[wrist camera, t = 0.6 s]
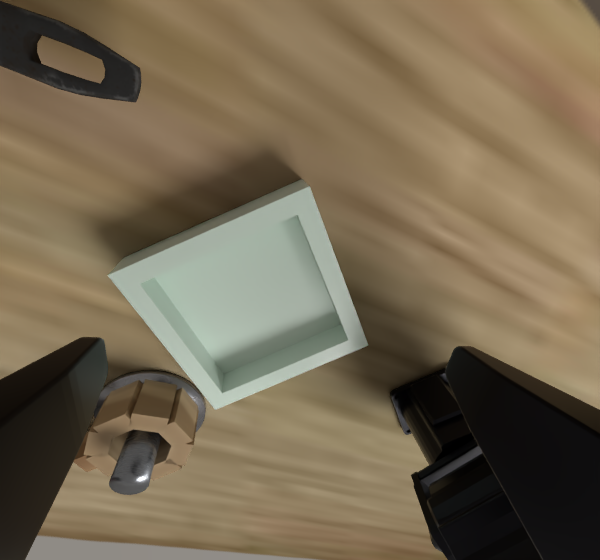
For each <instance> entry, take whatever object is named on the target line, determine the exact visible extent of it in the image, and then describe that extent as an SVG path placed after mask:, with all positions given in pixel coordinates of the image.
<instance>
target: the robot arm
mask: <svg viewBox="0 0 600 560" xmlns="http://www.w3.org/2000/svg"><path fill="white" fill-rule="evenodd" d="M107 373H108V362H107V356H106V349H105V343H104V340H103V339H102V338H99V337H82V338H79V339H77V340H75V341H73V342H71V343H69V344H68V345H66V346H64V347H62V348H60V349H58V350H56V351H54V352H52V353H50V354H48V355H47V356H45V357H43V358H41V359H39V360H37V361H35V362H33V363H31V364H29V365H27V366H26V367H24V368H22V369H20V370H18V371H16V372H14V373H12V374H10V375H8V376H6V377H4V378H3V379H1V380H0V560H25V559H26V557H27V555H28V552H29V550H30V548H31V546H32V544H33V542H34V540H35V538H36V536H37V534H38V532H39V530H40V528H41V526H42V524H43V522H44V520H45V518H46V516H47V514H48V512H49V510H50V508H51V506H52V504H53V502H54V500H55V498H56V496H57V494H58V492H59V490H60V488H61V486H62V484H63V482H64V480H65V478H66V476H67V473H68V471H69V469H70V467H71V465H72V463H73V461H74V459H75V457H76V455H77V453H78V451H79V449H80V447H81V445H82V442H83V440H84V437H85V435H86V432H87V430H88V427H89V424H90V422H91V419H92V416H93V413H94V410H95V408H96V405H97V402H98V399H99V397H100V394H101V391H102V388H103V386H104V383H105V380H106V377H107ZM390 396H391V399H392V402H393V405H394V408H395V410H396V413H397V416H398V419H399V421H400V424H401V427H402V430H403V432H404V433H405V434H406V435H408V434H411V433H412V434H413V436H414V438H415V440H416V442H417V443H418V445H419V447H420V449H421V451H422V453H423V454H424V456H425V458H426V460H427V462H428V464H429V466H427V467H426V468H424V469H422V470H421V471H419V472H415V473H413V474H412V475H411V477H412V479H413V482H414V489H415V491H416V494H417V497H418V500H419V503H420V506H421V508H422V511H423V514H424V517H425V520H426V522H427V525H428V529H429V533H430V538H431V541H432V544H433V545H434V547H435V548H436V549H438V550H439V551H441V552H443V553H444V555H445V556H446V558H447V559H448V560H600V410H599V409H597V408H595V407H593V406H591V405H589V404H587V403H585V402H583V401H581V400H579V399H577V398H575V397H573V396H571V395H569V394H567V393H565V392H563V391H561V390H559V389H557V388H555V387H553V386H551V385H549V384H547V383H545V382H542V381H540V380H538V379H536V378H534V377H532V376H530V375H528V374H526V373H524V372H522V371H520V370H518V369H516V368H514V367H512V366H510V365H508V364H506V363H504V362H502V361H500V360H498V359H496V358H494V357H492V356H490V355H488V354H486V353H484V352H482V351H480V350H478V349H476V348H474V347H471V346H458V347H456V348H455V349H454V350H453V353H452V355H451V357H450V360H449V362H448V364H447V367H446V369H443V370H441V371H439V372H436V373H434V374H431V375H429V376H427V377H424V378H422V379H419V380H417V381H414V382H412V383H410V384H407V385H405V386H402V387H400V388H398V389H395V390H393V391H392V392H391V393H390Z"/></svg>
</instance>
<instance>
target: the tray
mask: <svg viewBox="0 0 600 560" xmlns="http://www.w3.org/2000/svg"><path fill="white" fill-rule="evenodd" d="M108 276H109V278H110V279H111V280H112V281H113V283H114V284H115V285H116V286H117V288H118V289H119V290H120V291H121V293H122V294H123V295H124V296H125V298H126V299H127V300H128V301H129V303H130V304H131V305H132V306H133V308H134V309H135V310H136V311H137V313H138V314H139V315H140V316H141V318H142V319H143V320H144V321H145V323H146V324H147V325H148V326H149V328H150V329H151V330H152V331H153V333H154V334H155V335H156V336H157V338H158V339H159V340H160V341H161V343H162V344H163V345H164V346H165V347H166V349H167V350H168V351H169V352H170V354H171V355H172V356H173V357H174V359H175V360H176V361H177V362H178V364H179V365H180V366H181V367H182V369H183V370H184V371H185V372H186V374H187V375H188V376H189V377H190V379H191V380H192V381H193V382H194V384H195V385H196V386H197V387H198V389H199V390H200V391H201V392H202V394H203V395H204V396H205V397H206V399H207V400H208V401H209V402H210V404H211V405H212V406H213V407H214V409H215V410H216V409H218V408H221V407H223V406H226V405H228V404H230V403H233V402H235V401H237V400H240V399H242V398H245V397H247V396H249V395H252V394H254V393H257V392H259V391H261V390H264V389H266V388H268V387H271V386H273V385H276V384H278V383H280V382H283V381H285V380H287V379H290V378H292V377H295V376H297V375H299V374H302V373H304V372H306V371H309V370H311V369H314V368H316V367H318V366H321V365H323V364H326V363H328V362H330V361H333V360H335V359H337V358H340V357H342V356H345V355H347V354H349V353H352V352H354V351H356V350H359V349H361V348H364V347H366V346H368V343H367V340H366V337H365V335H364V332H363V329H362V327H361V324H360V321H359V318H358V316H357V313H356V310H355V308H354V305H353V302H352V300H351V297H350V294H349V291H348V289H347V286H346V283H345V281H344V278H343V275H342V272H341V270H340V267H339V264H338V262H337V259H336V256H335V254H334V251H333V248H332V245H331V243H330V240H329V237H328V235H327V232H326V229H325V226H324V224H323V221H322V218H321V216H320V213H319V210H318V208H317V205H316V202H315V199H314V197H313V194H312V191H311V189H310V186H309V185H308V184H307V183H306V182H305V181H304V180H303V179H300V180H298V181H296V182H294V183H291V184H289V185H287V186H285V187H282V188H280V189H278V190H276V191H273V192H271V193H269V194H266V195H264V196H262V197H260V198H257V199H255V200H253V201H251V202H248V203H246V204H244V205H242V206H239V207H237V208H235V209H233V210H230V211H228V212H226V213H224V214H221V215H219V216H217V217H214V218H212V219H210V220H208V221H205V222H203V223H201V224H199V225H196V226H194V227H192V228H190V229H187V230H185V231H183V232H181V233H178V234H176V235H174V236H172V237H169V238H167V239H165V240H162V241H160V242H158V243H156V244H153V245H151V246H149V247H147V248H144V249H142V250H140V251H138V252H135V253H133V254H131V255H129V256H126V257H124V258H123V259H122V260H121V261H120V262H119V263H118V264H117V265H116V267H115V268H114V269H113V270H112V271H111V272H110V273H109V274H108Z"/></svg>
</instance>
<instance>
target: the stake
mask: <svg viewBox="0 0 600 560" xmlns="http://www.w3.org/2000/svg"><path fill="white" fill-rule="evenodd" d="M145 379H147V380H153V381H158V382H164V383H169V384H175V385H177V389H176V390H178V389H181V388H183V389H184V390H185V391H186V392H187V394H188V395H189V396H190V397H191V398H192V400H193V401H194V402H195V403H196V404H197V406H198V410H199V413H198V419H197V426H196V431H197V430H198V429H199V428H200V427H201V425H202V423H203V421H204V417H205V410H206V406H205V401H204V398H203V396H202V394H201V392H200V391H199V390H198V389H197V387H196V386H194V385H193V384H192V383H191V382H189V381H188V380H186V379H184V378H182V377H180V376H178V375H175V374H172V373H168V372H163V371H153V370H146V371H137V372H132V373H128V374H125V375H122V376H120V377H118V378H116V379H114V380H112V381H111V382H109V383H108V384H107V385H106V386H105V387H104V388H103V389H102V391H101V394H100V397H99V399H98V402H97V405H96V408H95V410H94V416H95V418H96V416H97V414H98V412H99V411H100V409H101V407H102V405H103V403H104V401H105V399H106V397H107V396H109V394H110V392H111V391H114V390H116V389H118V388H121V387H123V386H126V385H128V384H130V383H133V382H135V381H137V380H140V382H141V383H142V384H144V381H145ZM160 440H161V435H160V434H159V433H157V432H149V431H142V430H134V429H133V430H131V431H128V434H127V436H126V439H125V442H124V444H123V447H122V450H121V452H120V455H119V458H118V460H117V463H116V466H115V468H114V471H113V474H112V476H111V479H110V482H109V486H110V488H111V489H112V490H113V491H115V492H117V493H120V494H125V495H131V494H137V493H140V492H142V491H144V490H145V489H146V488H147V487H148V485H149V482H150V478H151V474H152V471H153V467H154V463H155V459H156V455H157V452H158V448H159V444H160Z"/></svg>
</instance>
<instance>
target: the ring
mask: <svg viewBox="0 0 600 560" xmlns="http://www.w3.org/2000/svg"><path fill="white" fill-rule="evenodd" d="M176 389H177V385H175V384H169V383H164V382H158V381H153V380H147V379H145V381H144V384H142V383H141V382H140V380H137V381H135V382H133V383H130V384H128V385H126V386H123V387H121V388H118V389H116V390H114V391H111V392H110V394H109V396H107V397H106V399H105V401H104V403H103V405H102V407H101V409H100V411H99V412H98V414H97V416H96V418H95V420H94V422H93V424H92V426H91V428H90V430H89V432H87V433H86V435H85V437H84V440H83V442H82V445H81V447H80V449H79V451H78V453H77V455H76V457H75V459H74V461H73V462H74V463H76V464H77V465H78V466H79V467H81V468H82V469H83V470H85V471H86V472H89V471H91V470H93V469H96V468H97V469H99V470H100V471H101V472H102V473H104V474H105V475H106V476H110V475H112V474H113V471H114V468H115V466H116V463H117V460H118V458H119V455H120V452H121V450H122V447H123V444H124V442H125V439H126V436H127V434H128V431H131V430H133V429H134V430H142V431H149V432H157V433H159V434H160V435H161V440H160V444H159V448H158V452H157V455H156V459H155V463H154V467H153V471H152V474H151V479H152V480H156V479H158V478H161V477H163V476H165V475H168V474H170V473H173V472H175V471H177V470H180V469H181V468H182V465H184V466H185V464H186V462H187V460H188V457H189V455H190V452H191V450H192V447H193V445H194V438H195V432H196V426H197V419H198V413H199V410H198V406H197V404H196V403H195V402H194V401H193V400H192V398H191V397H190V396H189V395H188V394H187V392H186V391H185V390H184V389H183V388H181V389H178V390H176Z"/></svg>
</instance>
